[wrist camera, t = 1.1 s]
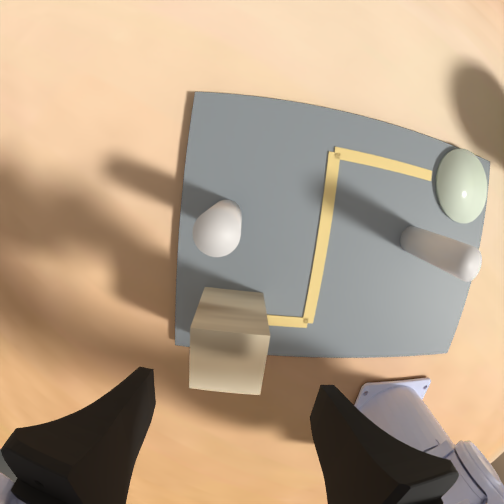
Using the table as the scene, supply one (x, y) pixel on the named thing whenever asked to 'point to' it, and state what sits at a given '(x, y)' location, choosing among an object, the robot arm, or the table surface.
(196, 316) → the block
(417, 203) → the board
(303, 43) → the table surface
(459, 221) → the pad
